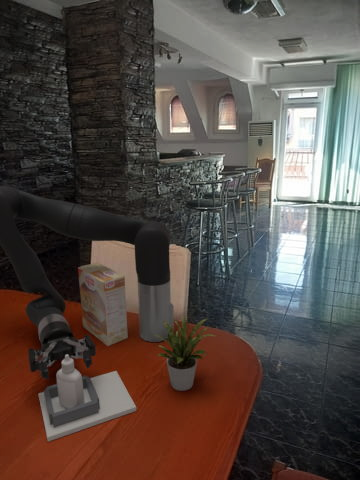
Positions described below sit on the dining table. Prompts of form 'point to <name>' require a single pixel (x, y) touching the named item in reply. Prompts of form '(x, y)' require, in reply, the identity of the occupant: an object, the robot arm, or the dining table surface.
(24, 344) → the dining table surface
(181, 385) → the house plant
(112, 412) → the bottle holder
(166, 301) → the robot arm
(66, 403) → the eye dropper bottle
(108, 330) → the coffeecake box
